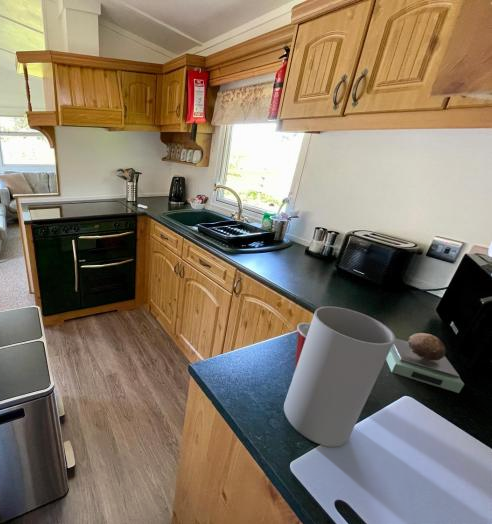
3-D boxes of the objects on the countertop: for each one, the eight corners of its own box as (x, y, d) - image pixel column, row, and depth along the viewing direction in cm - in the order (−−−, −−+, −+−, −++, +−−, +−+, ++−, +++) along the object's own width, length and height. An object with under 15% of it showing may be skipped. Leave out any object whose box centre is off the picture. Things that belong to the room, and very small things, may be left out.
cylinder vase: (331, 403, 68) (369, 311, 59) (360, 454, 56) (413, 350, 47) (276, 393, 69) (305, 302, 60) (293, 441, 58) (331, 338, 49)
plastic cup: (338, 375, 77) (353, 338, 73) (317, 390, 71) (332, 351, 67) (299, 351, 85) (310, 317, 81) (277, 363, 80) (288, 327, 75)
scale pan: (439, 352, 84) (440, 350, 84) (458, 378, 74) (459, 376, 74) (388, 338, 89) (389, 336, 89) (399, 361, 79) (401, 359, 78)
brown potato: (409, 331, 86) (425, 323, 81) (438, 351, 82) (457, 345, 77) (395, 348, 84) (410, 341, 79) (424, 370, 80) (442, 365, 75)
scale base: (437, 361, 86) (442, 352, 84) (459, 394, 74) (466, 383, 72) (379, 345, 91) (384, 336, 90) (391, 373, 79) (396, 362, 78)
